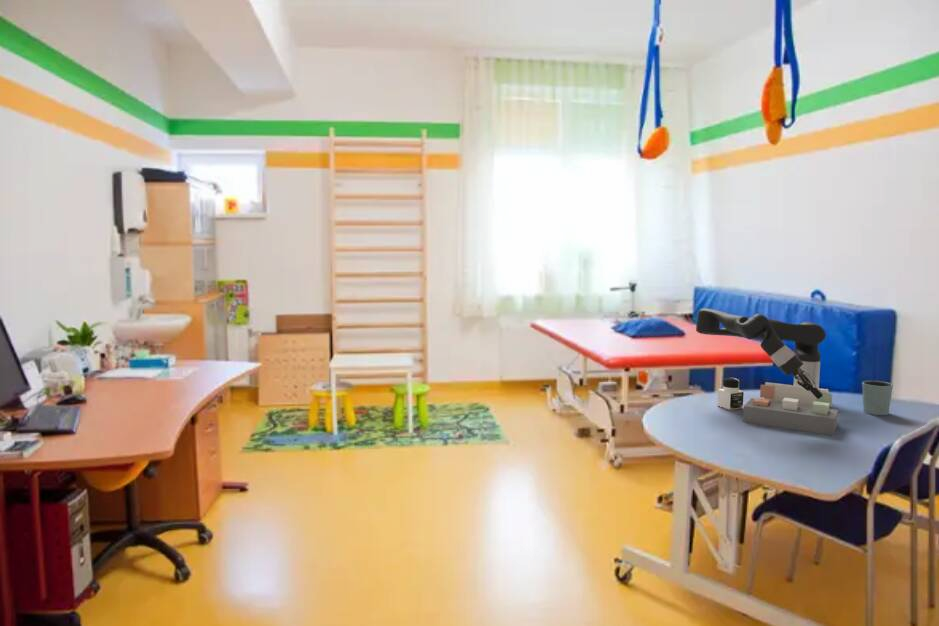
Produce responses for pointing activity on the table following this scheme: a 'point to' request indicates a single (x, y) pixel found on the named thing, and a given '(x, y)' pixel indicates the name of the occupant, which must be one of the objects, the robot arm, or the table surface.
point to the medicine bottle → (730, 395)
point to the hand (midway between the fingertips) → (820, 397)
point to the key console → (791, 418)
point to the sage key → (820, 408)
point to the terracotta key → (761, 402)
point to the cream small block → (790, 404)
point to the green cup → (876, 397)
